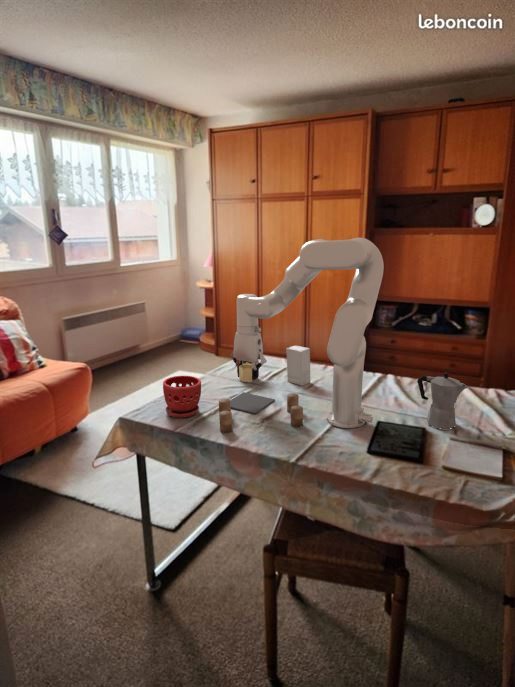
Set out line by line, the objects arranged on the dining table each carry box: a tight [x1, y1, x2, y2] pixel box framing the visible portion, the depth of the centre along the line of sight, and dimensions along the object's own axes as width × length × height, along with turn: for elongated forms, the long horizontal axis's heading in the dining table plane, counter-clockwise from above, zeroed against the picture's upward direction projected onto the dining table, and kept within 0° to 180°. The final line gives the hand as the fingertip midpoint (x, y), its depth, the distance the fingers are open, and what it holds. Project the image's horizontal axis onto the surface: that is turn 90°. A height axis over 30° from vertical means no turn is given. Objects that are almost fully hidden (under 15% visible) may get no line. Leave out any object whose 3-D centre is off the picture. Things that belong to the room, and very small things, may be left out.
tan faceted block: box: [238, 364, 255, 383], centre depth 165 cm, size 6×6×5 cm
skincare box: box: [285, 345, 311, 387], centre depth 187 cm, size 8×6×15 cm
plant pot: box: [162, 375, 202, 419], centre depth 160 cm, size 13×13×12 cm
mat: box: [229, 392, 276, 415], centre depth 168 cm, size 14×14×1 cm
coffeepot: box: [416, 372, 468, 429], centre depth 149 cm, size 15×9×18 cm, turn 54°
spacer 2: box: [218, 411, 233, 434], centre depth 147 cm, size 4×4×6 cm
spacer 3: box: [286, 392, 300, 414], centre depth 161 cm, size 4×4×6 cm
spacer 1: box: [218, 398, 232, 414], centre depth 157 cm, size 4×4×6 cm
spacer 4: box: [290, 405, 304, 428], centre depth 151 cm, size 4×4×6 cm
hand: (247, 377), depth 166 cm, fingers closed on tan faceted block, 5 cm apart
